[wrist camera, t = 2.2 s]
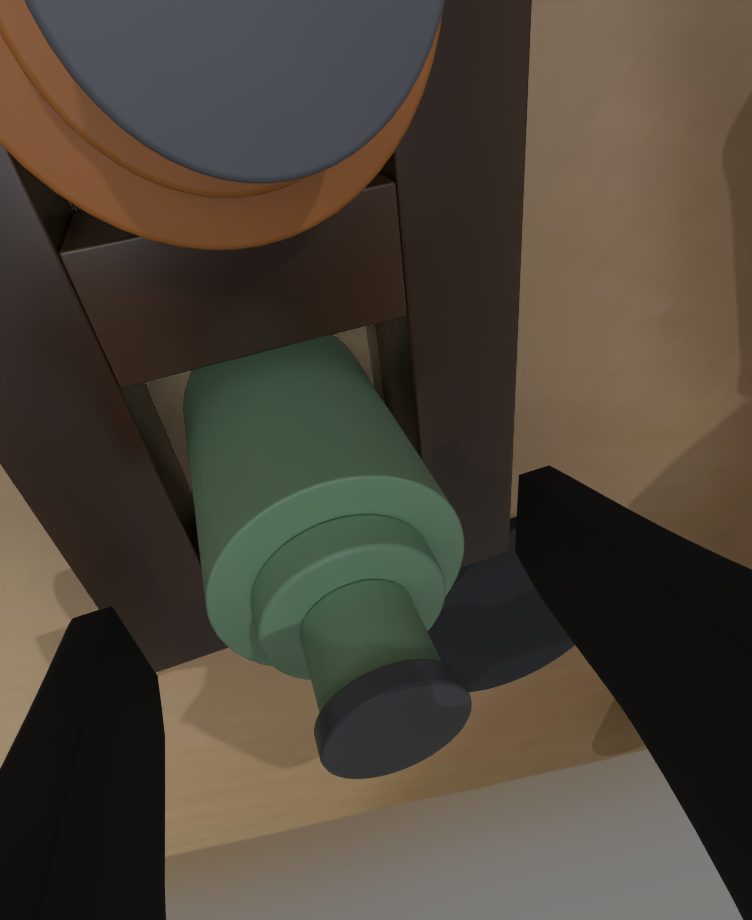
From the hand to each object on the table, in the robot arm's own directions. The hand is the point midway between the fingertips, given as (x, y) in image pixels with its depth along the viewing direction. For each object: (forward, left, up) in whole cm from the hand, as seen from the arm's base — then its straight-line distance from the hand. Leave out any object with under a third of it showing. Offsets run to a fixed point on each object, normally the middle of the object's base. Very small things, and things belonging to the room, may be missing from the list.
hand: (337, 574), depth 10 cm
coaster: (-7, +12, -6) cm, 15 cm away
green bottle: (0, 0, -6) cm, 6 cm away
